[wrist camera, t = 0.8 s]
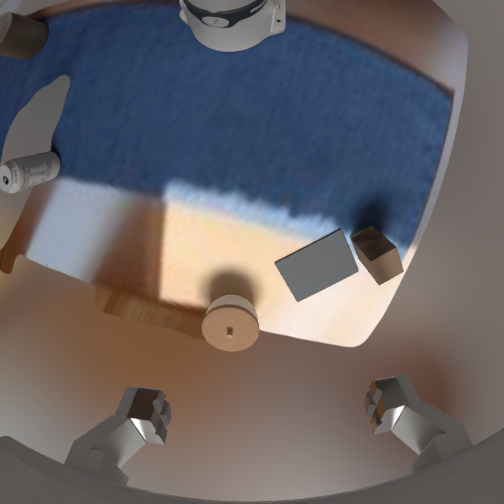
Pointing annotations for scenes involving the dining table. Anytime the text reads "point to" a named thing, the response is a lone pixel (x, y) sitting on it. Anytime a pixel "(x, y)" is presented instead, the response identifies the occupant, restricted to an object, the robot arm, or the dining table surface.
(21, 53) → the pillar candle
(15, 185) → the energy drink can
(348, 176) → the dining table surface
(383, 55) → the dining table surface
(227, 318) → the lidded jar
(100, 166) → the dining table surface
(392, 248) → the walnut block
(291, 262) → the felt mat
